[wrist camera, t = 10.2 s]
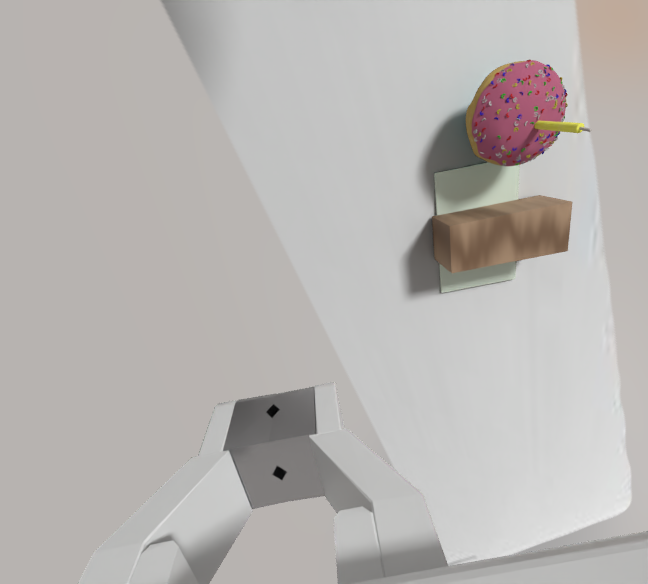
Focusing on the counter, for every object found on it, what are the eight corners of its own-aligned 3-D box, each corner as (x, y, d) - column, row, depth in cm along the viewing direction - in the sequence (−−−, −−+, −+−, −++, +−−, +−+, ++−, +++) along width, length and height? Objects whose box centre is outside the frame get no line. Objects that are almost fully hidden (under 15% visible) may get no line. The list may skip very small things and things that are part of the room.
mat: (434, 173, 37) (435, 173, 37) (517, 156, 37) (519, 156, 36) (440, 292, 42) (441, 292, 42) (513, 277, 42) (515, 278, 42)
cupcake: (547, 118, 35) (659, 104, 24) (482, 182, 37) (557, 196, 26) (498, 49, 33) (597, -1, 22) (431, 122, 35) (490, 110, 24)
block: (449, 225, 34) (572, 201, 33) (431, 216, 38) (539, 195, 38) (451, 273, 36) (567, 250, 35) (434, 259, 40) (537, 238, 40)
